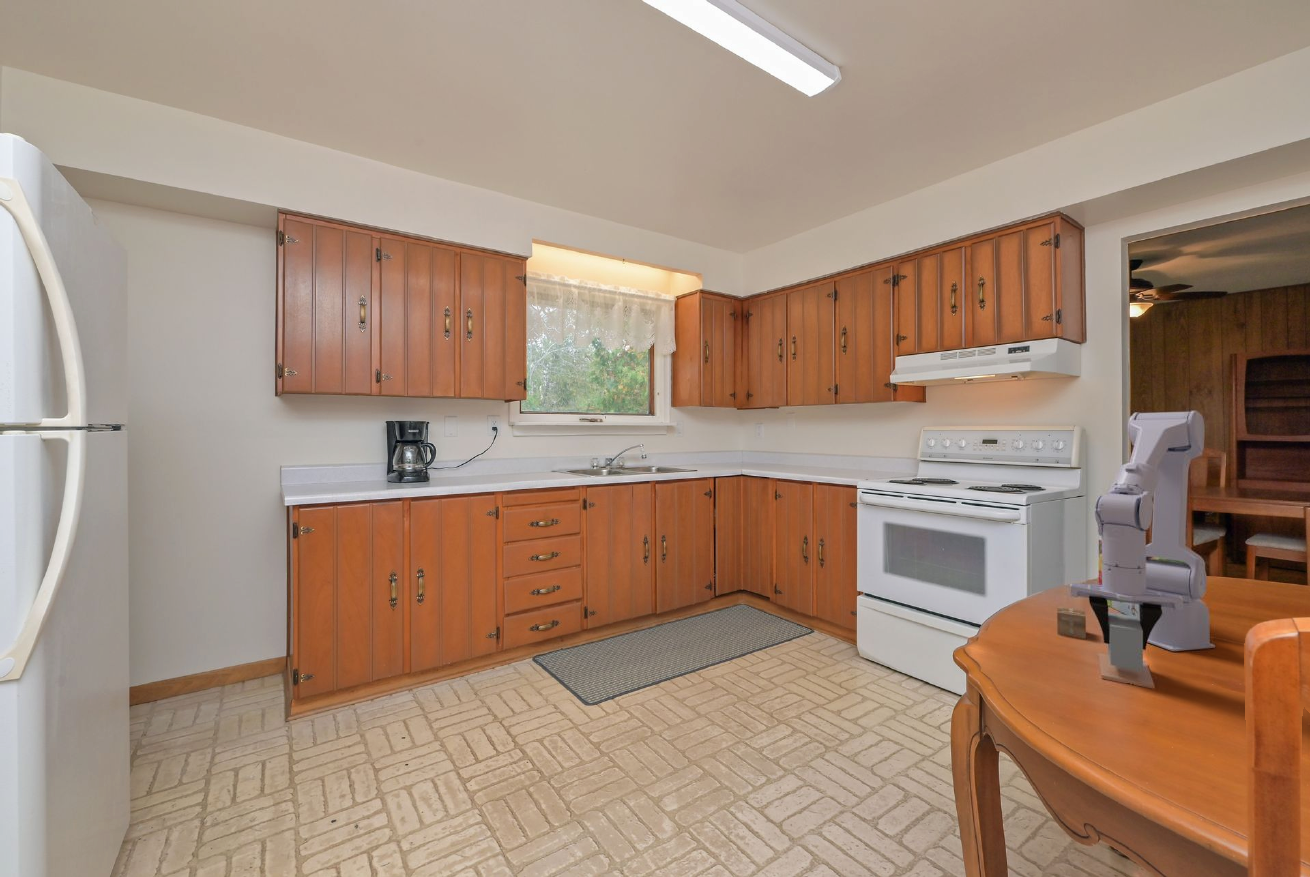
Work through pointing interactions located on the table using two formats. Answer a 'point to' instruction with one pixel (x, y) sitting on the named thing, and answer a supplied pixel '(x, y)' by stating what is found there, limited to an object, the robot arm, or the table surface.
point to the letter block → (1071, 622)
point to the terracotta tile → (1125, 673)
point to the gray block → (1125, 641)
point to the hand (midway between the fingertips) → (1124, 644)
